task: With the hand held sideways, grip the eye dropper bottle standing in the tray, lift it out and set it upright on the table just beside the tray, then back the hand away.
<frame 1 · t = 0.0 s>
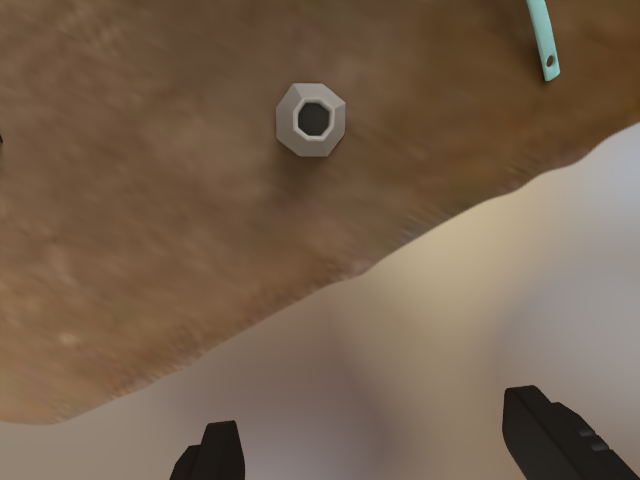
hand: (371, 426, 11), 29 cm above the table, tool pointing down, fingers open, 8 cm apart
flask: (310, 121, 36), on the table
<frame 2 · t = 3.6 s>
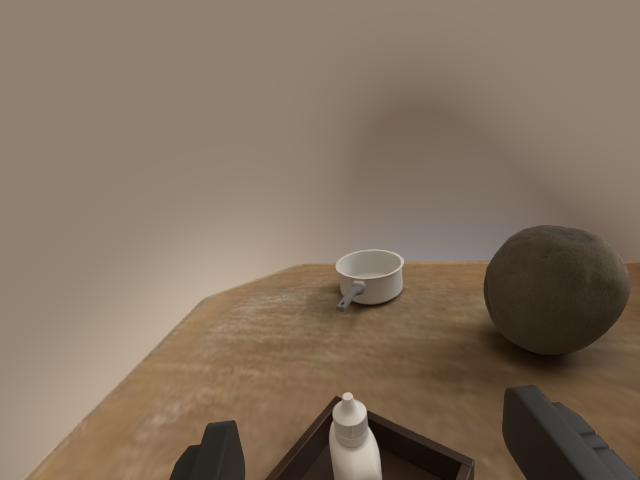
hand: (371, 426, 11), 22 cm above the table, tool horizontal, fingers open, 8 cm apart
saucepan: (364, 305, 59), on the table
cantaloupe: (543, 342, 45), on the table
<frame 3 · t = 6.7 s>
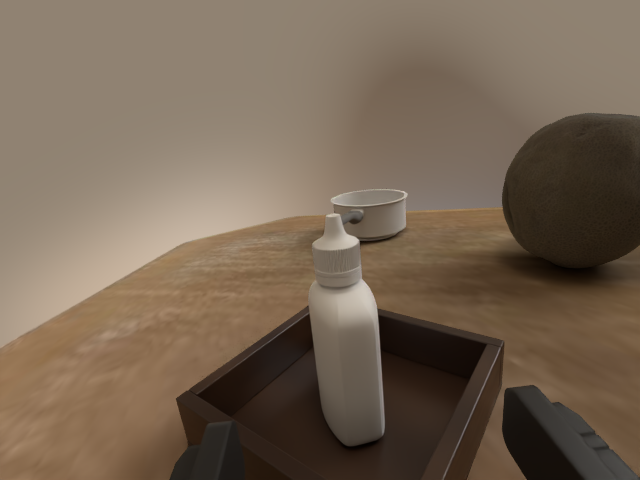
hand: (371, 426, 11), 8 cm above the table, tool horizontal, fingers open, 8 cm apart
eye dropper bottle: (351, 412, 21), resting on tray
tray: (351, 413, 21), on the table
saucepan: (362, 242, 52), on the table
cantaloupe: (573, 262, 38), on the table
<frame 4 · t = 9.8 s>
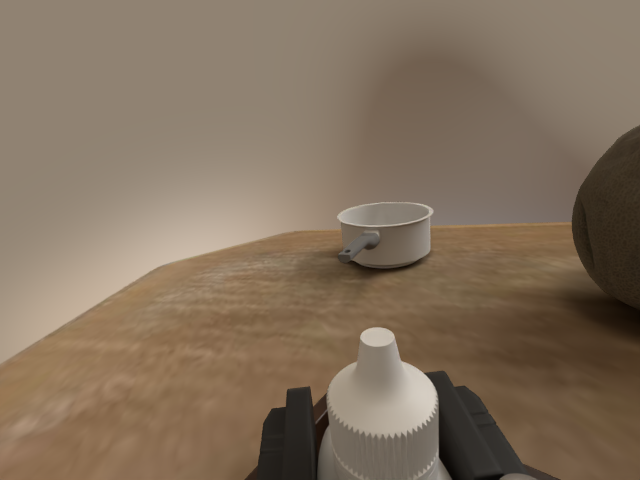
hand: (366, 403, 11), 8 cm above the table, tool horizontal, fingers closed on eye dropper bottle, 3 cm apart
saucepan: (377, 270, 42), on the table
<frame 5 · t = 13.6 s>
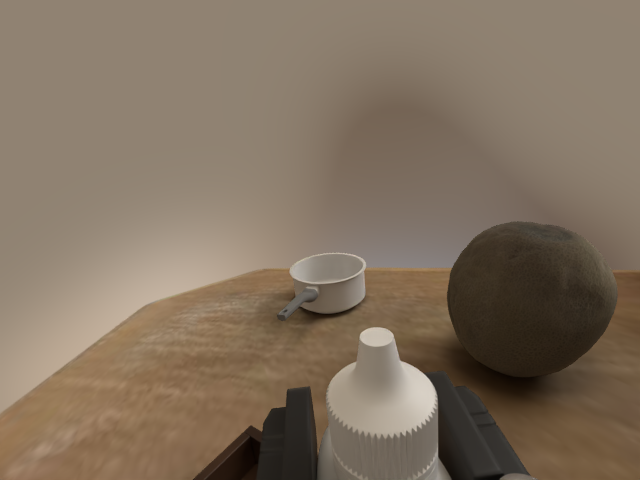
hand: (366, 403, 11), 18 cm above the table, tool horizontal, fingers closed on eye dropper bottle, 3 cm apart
saucepan: (320, 314, 52), on the table
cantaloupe: (517, 362, 38), on the table
when the fingers open (8 cm above the table, at t = 17.5 s): eye dropper bottle stays where it is, on the table.
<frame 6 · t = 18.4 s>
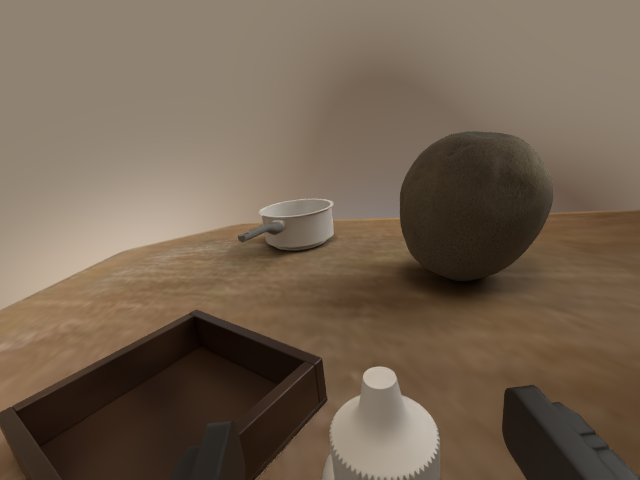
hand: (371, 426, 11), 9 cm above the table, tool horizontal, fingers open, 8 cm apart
tray: (177, 427, 22), on the table
saucepan: (287, 251, 53), on the table
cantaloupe: (467, 275, 39), on the table
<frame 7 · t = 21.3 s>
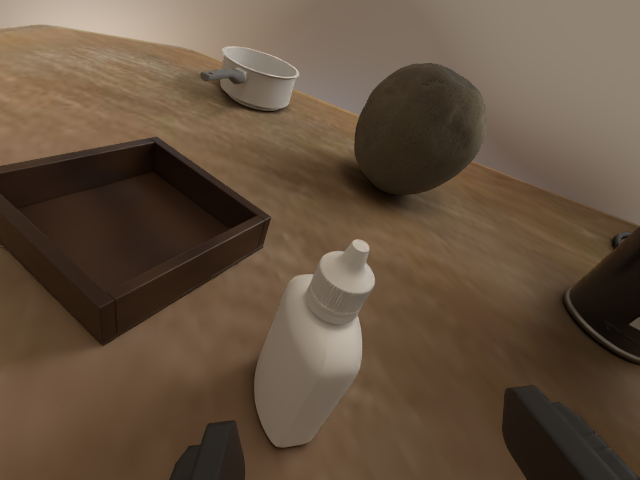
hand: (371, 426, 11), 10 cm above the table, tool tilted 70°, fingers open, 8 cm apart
eye dropper bottle: (282, 399, 21), on the table
tray: (136, 233, 27), on the table
saucepan: (240, 105, 52), on the table
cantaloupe: (388, 187, 47), on the table
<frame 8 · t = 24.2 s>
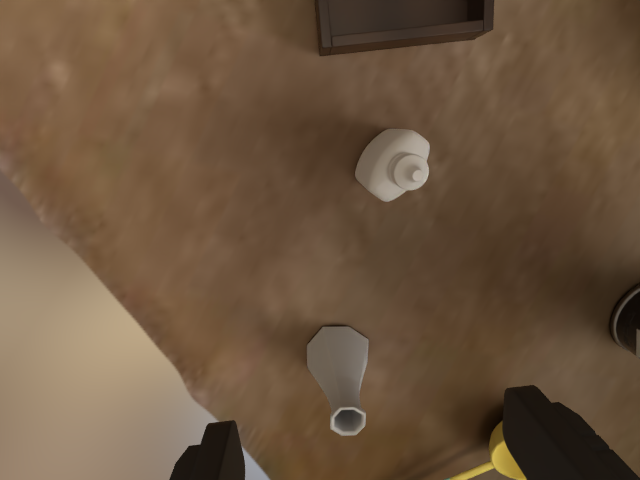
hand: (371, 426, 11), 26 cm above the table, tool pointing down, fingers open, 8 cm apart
eye dropper bottle: (378, 158, 34), on the table
flask: (337, 350, 40), on the table
ladle: (448, 457, 46), on the table
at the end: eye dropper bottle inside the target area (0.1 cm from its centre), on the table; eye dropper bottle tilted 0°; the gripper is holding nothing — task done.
